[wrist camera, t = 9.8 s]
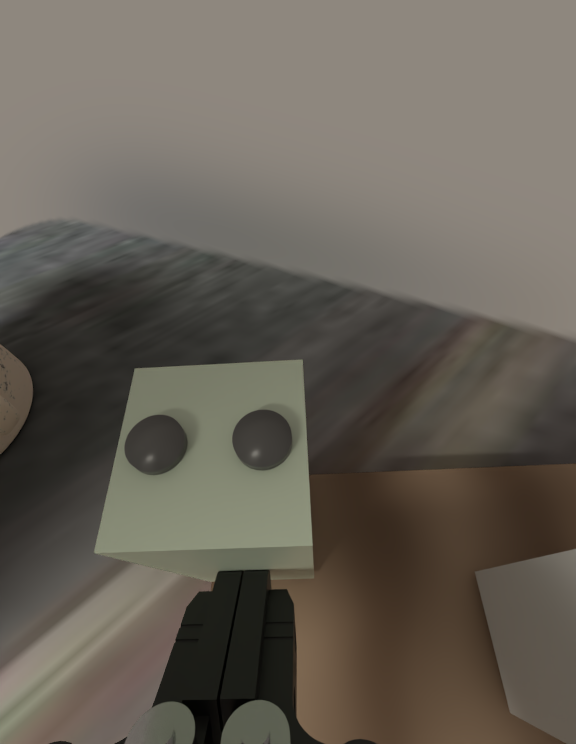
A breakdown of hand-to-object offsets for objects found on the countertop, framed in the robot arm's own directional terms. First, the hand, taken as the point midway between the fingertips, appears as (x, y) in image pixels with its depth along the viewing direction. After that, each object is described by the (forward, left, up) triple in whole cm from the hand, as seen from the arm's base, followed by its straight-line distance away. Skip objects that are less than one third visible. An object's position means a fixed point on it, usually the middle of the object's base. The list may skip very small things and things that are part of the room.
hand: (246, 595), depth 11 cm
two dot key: (0, +3, -4) cm, 4 cm away
